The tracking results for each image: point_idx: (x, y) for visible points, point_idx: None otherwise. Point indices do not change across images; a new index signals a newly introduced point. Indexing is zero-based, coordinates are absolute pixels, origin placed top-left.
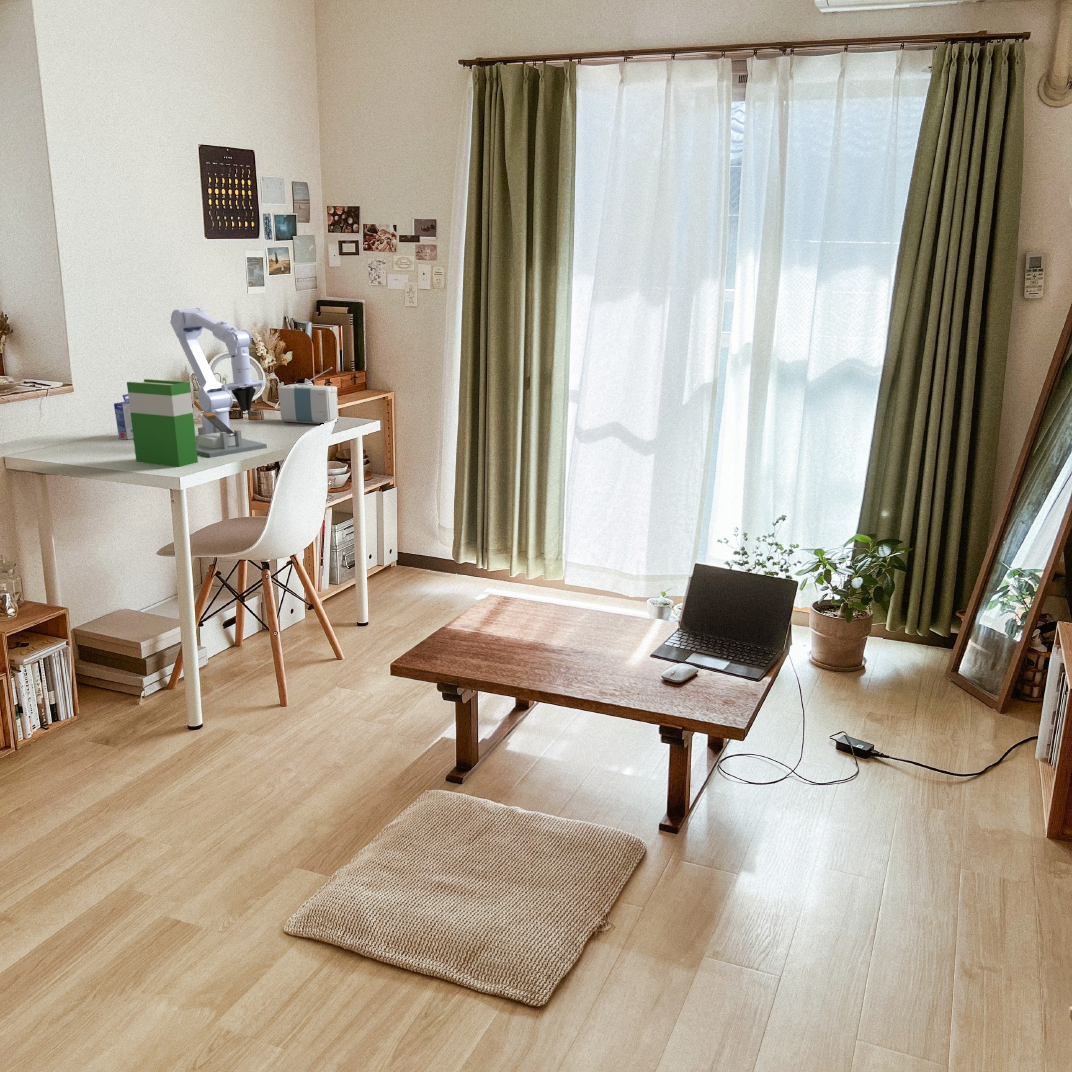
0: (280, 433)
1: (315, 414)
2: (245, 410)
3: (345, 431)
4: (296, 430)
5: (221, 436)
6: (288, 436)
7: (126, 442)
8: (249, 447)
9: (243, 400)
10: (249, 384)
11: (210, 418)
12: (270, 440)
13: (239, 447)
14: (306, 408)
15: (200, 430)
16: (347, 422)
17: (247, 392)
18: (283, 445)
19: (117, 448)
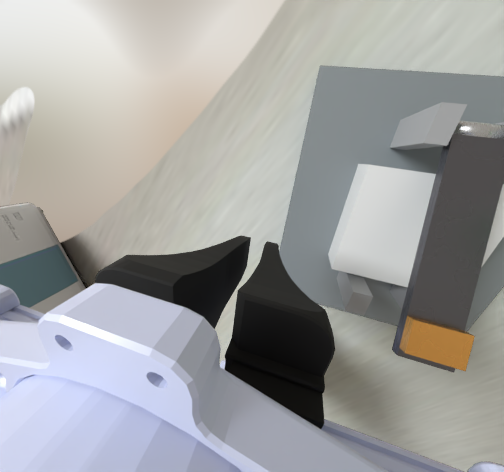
0: (154, 230)
1: (31, 241)
2: (270, 243)
3: (28, 96)
4: (113, 224)
5: None
6: (160, 180)
7: (412, 447)
8: (406, 71)
9: (276, 268)
10: (131, 310)
11: (456, 316)
12: (223, 178)
13: (437, 99)
14: (28, 269)
15: None
16: (4, 194)
17: (196, 307)
18: (254, 56)
19: (497, 441)
